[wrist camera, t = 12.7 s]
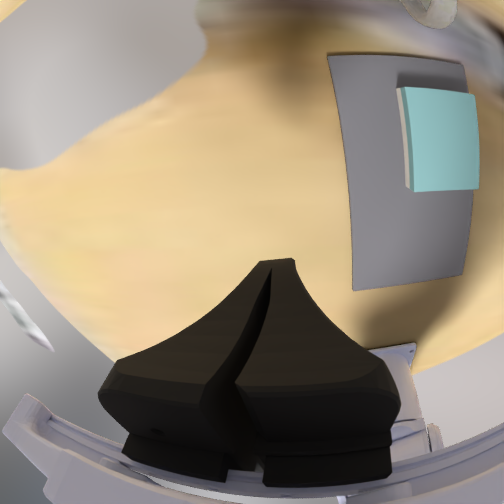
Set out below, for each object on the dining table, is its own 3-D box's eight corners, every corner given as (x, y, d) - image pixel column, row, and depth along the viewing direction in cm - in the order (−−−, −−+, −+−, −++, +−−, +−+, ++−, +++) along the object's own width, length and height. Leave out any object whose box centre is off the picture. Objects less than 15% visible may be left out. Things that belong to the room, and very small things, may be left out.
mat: (460, 272, 19) (461, 274, 19) (352, 288, 22) (353, 291, 21) (460, 65, 11) (463, 65, 11) (327, 57, 14) (327, 56, 13)
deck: (405, 186, 17) (468, 183, 15) (414, 192, 15) (478, 189, 14) (396, 88, 14) (463, 94, 12) (404, 86, 12) (474, 94, 11)
